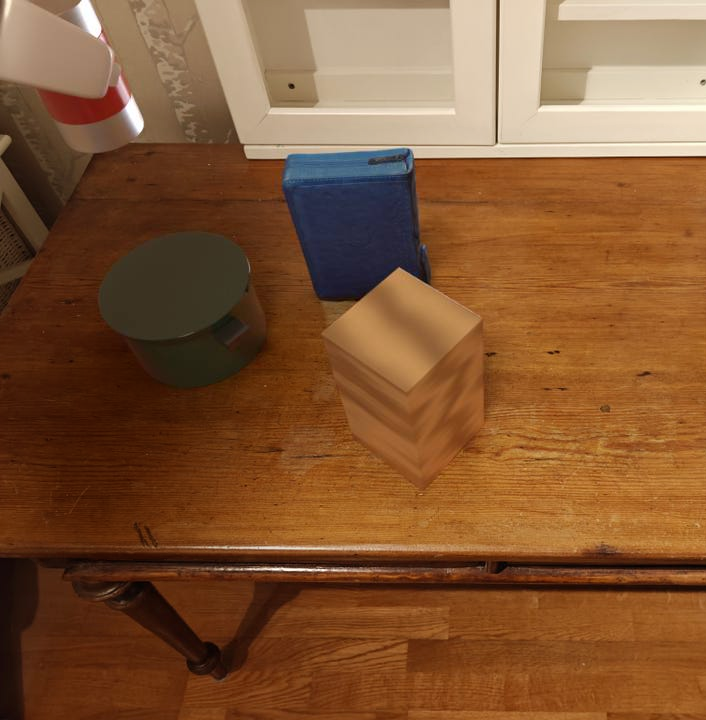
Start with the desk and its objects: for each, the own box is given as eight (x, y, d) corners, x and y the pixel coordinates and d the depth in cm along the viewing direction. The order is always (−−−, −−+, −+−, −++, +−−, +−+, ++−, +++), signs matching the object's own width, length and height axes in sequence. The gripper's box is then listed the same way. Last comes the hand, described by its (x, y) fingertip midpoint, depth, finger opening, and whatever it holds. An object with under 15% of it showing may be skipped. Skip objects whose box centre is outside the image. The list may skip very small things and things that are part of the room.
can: (93, 164, 57) (20, 31, 48) (49, 134, 59) (-28, 3, 50) (160, 126, 60) (103, -6, 51) (115, 99, 62) (54, -31, 53)
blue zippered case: (431, 271, 89) (419, 138, 73) (432, 302, 86) (419, 170, 70) (318, 277, 89) (281, 144, 73) (315, 308, 86) (275, 177, 70)
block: (423, 491, 71) (406, 392, 56) (353, 438, 75) (320, 333, 60) (484, 425, 76) (483, 318, 61) (415, 378, 79) (398, 267, 65)
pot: (201, 425, 76) (169, 375, 68) (97, 337, 83) (58, 284, 76) (309, 334, 83) (291, 280, 76) (205, 261, 91) (179, 205, 83)
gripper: (-232, -2, 46) (-16, 65, 59) (-32, 85, 40) (160, 138, 52) (-219, -103, 44) (-1, -12, 57) (-10, -30, 38) (182, 54, 51)
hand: (78, 60), depth 55 cm, fingers closed on can, 6 cm apart
